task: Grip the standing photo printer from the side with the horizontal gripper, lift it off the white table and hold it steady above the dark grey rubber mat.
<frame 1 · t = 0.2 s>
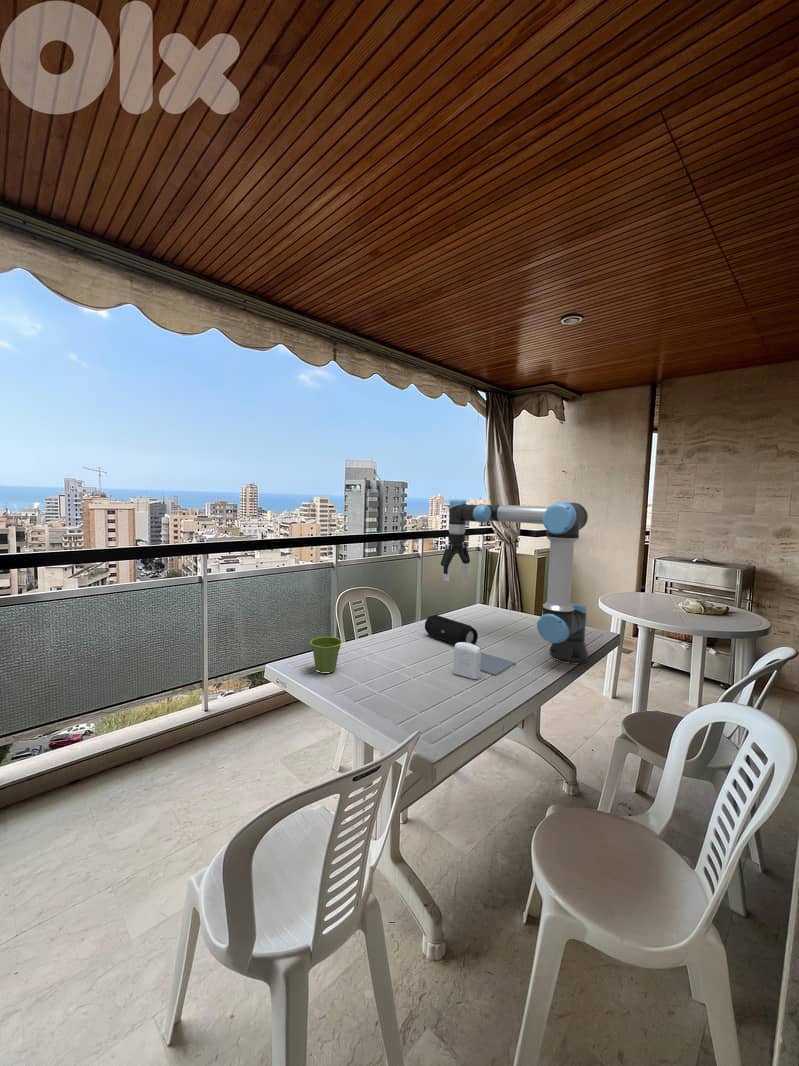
hand: (455, 578, 203), 28 cm above the table, tool pointing down, fingers open, 13 cm apart
photo printer: (466, 676, 162), on the table
portable speaker: (449, 641, 200), on the table
rubber mat: (487, 664, 173), on the table
plant pot: (326, 671, 164), on the table
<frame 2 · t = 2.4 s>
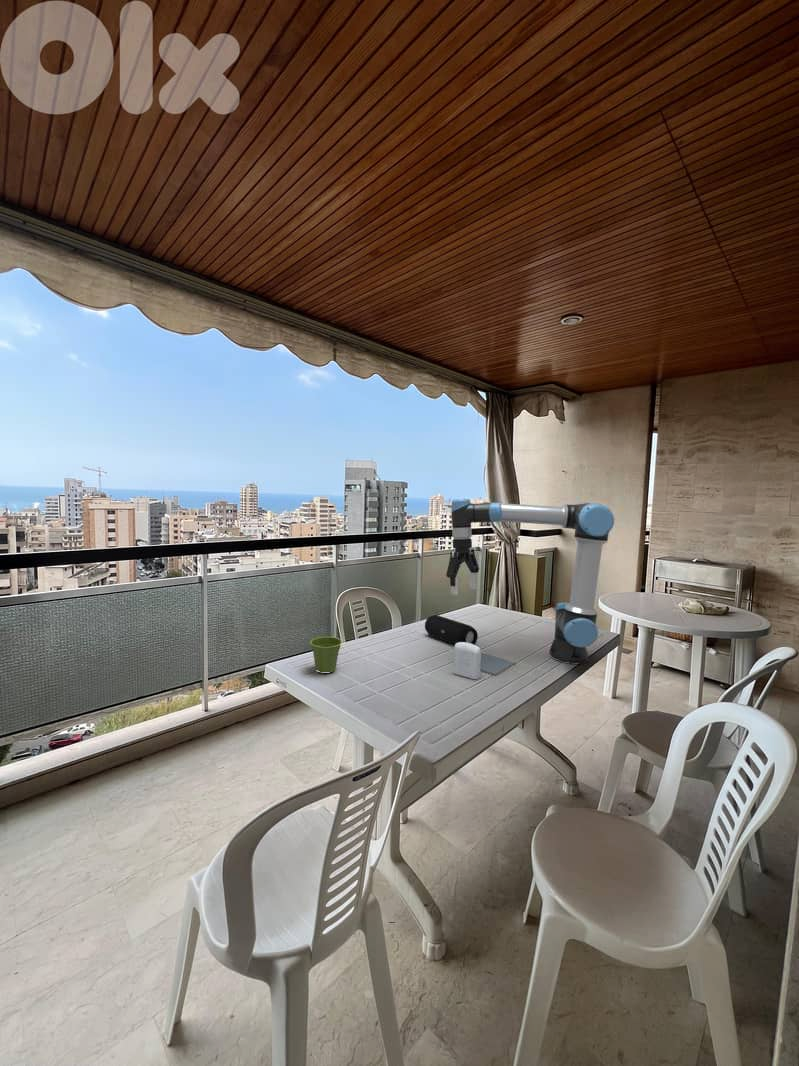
hand: (464, 591, 174), 29 cm above the table, tool pointing down, fingers open, 13 cm apart
nothing on the table moved.
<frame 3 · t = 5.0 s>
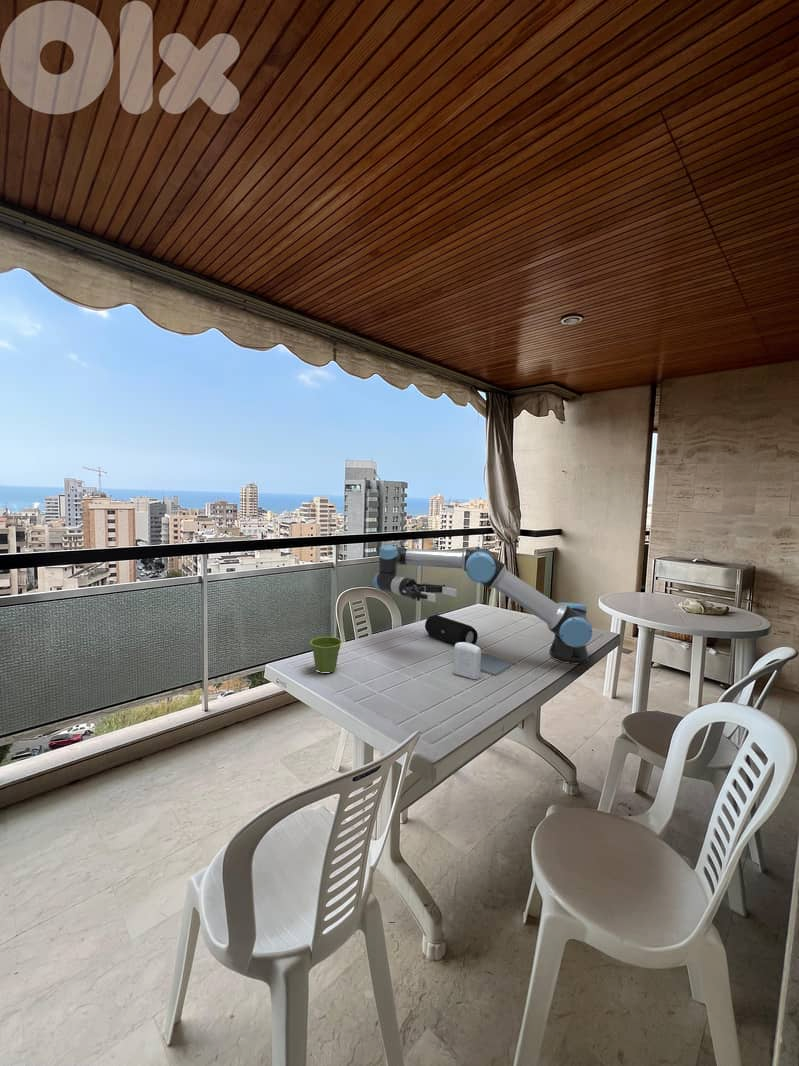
hand: (446, 595, 167), 28 cm above the table, tool horizontal, fingers open, 13 cm apart
nothing on the table moved.
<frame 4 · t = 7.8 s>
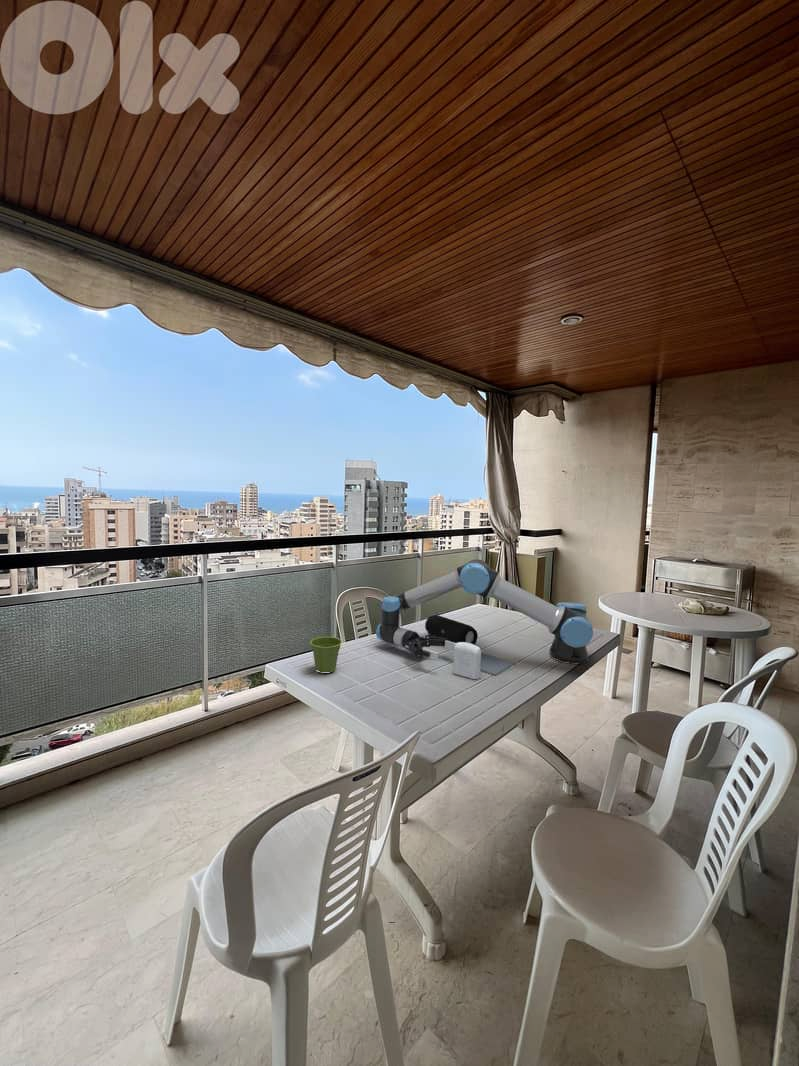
hand: (448, 652, 167), 7 cm above the table, tool horizontal, fingers open, 13 cm apart
nothing on the table moved.
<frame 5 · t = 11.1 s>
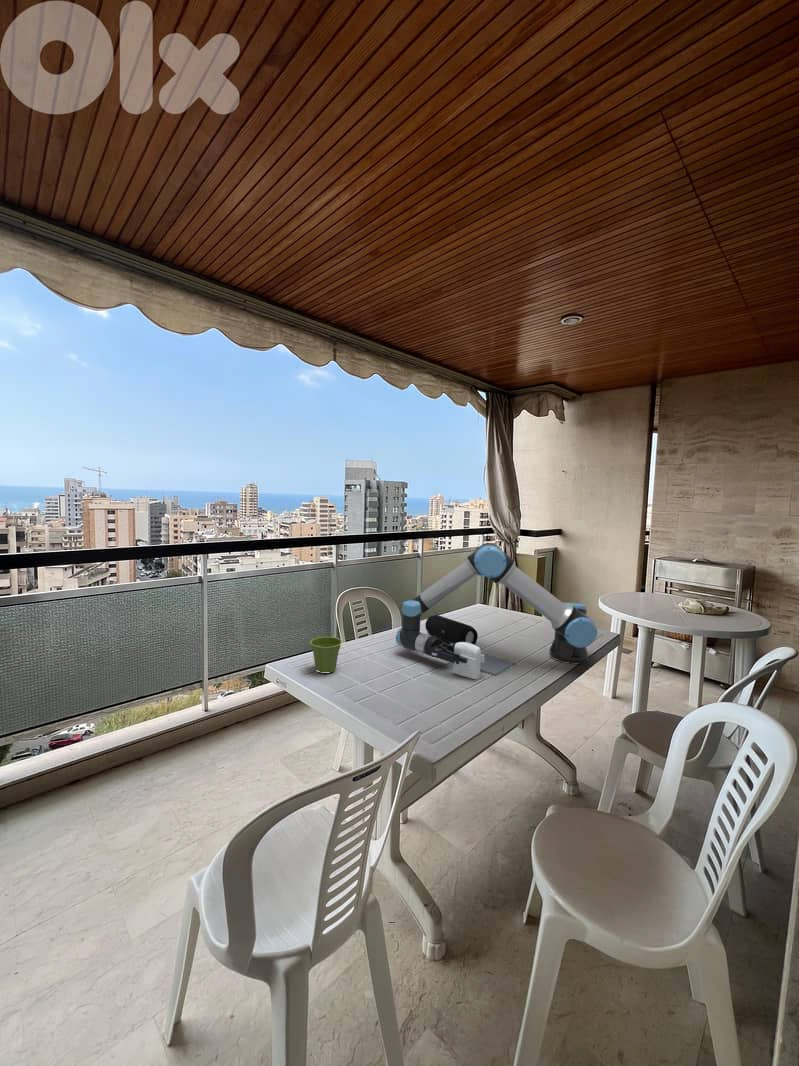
hand: (479, 661, 158), 7 cm above the table, tool horizontal, fingers closed on photo printer, 5 cm apart
photo printer: (466, 676, 162), on the table, touching gripper
everything else where it was.
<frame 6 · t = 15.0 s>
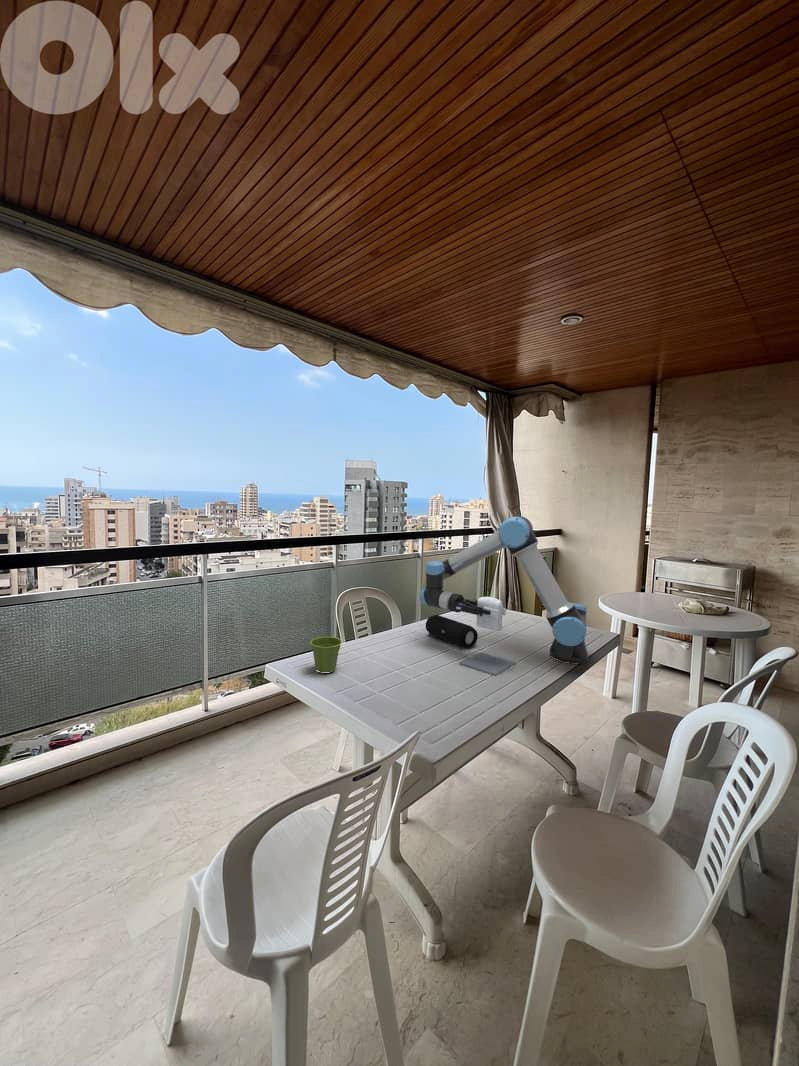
hand: (502, 613, 167), 22 cm above the table, tool horizontal, fingers closed on photo printer, 4 cm apart
photo printer: (489, 628, 172), point 15 cm above the table, touching gripper
everything else where it was.
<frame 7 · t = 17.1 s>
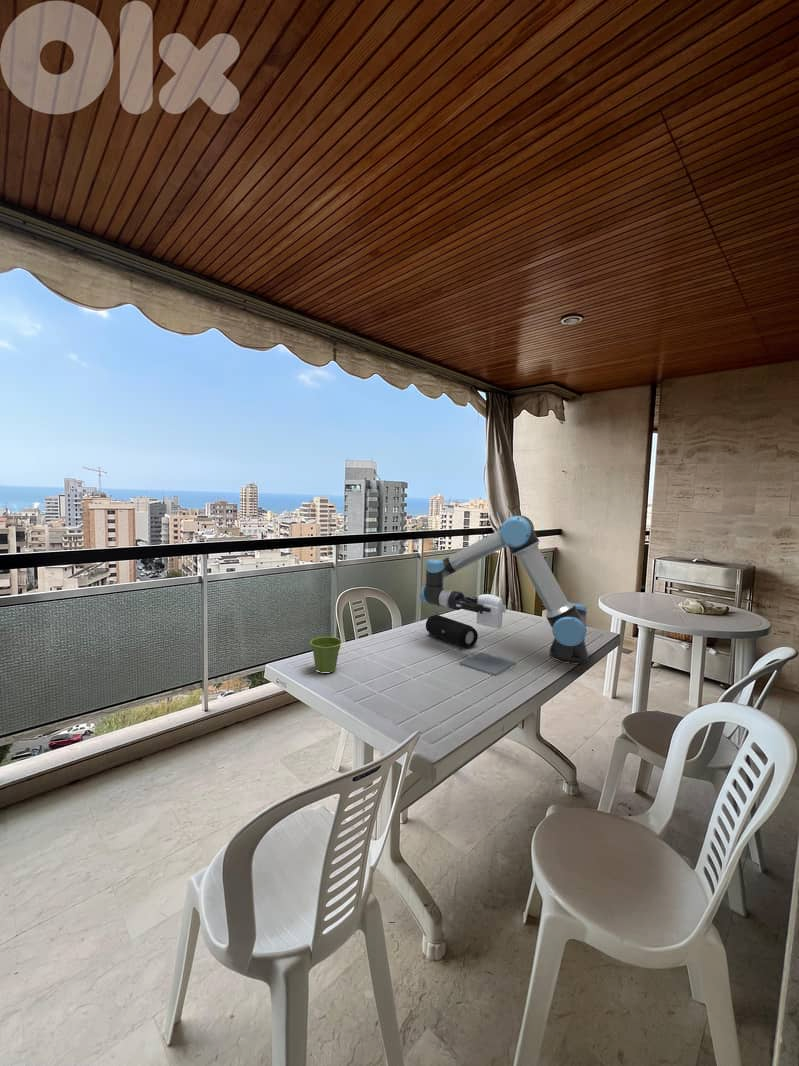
hand: (502, 610, 167), 23 cm above the table, tool horizontal, fingers closed on photo printer, 4 cm apart
photo printer: (489, 626, 172), point 16 cm above the table, touching gripper
everything else where it was.
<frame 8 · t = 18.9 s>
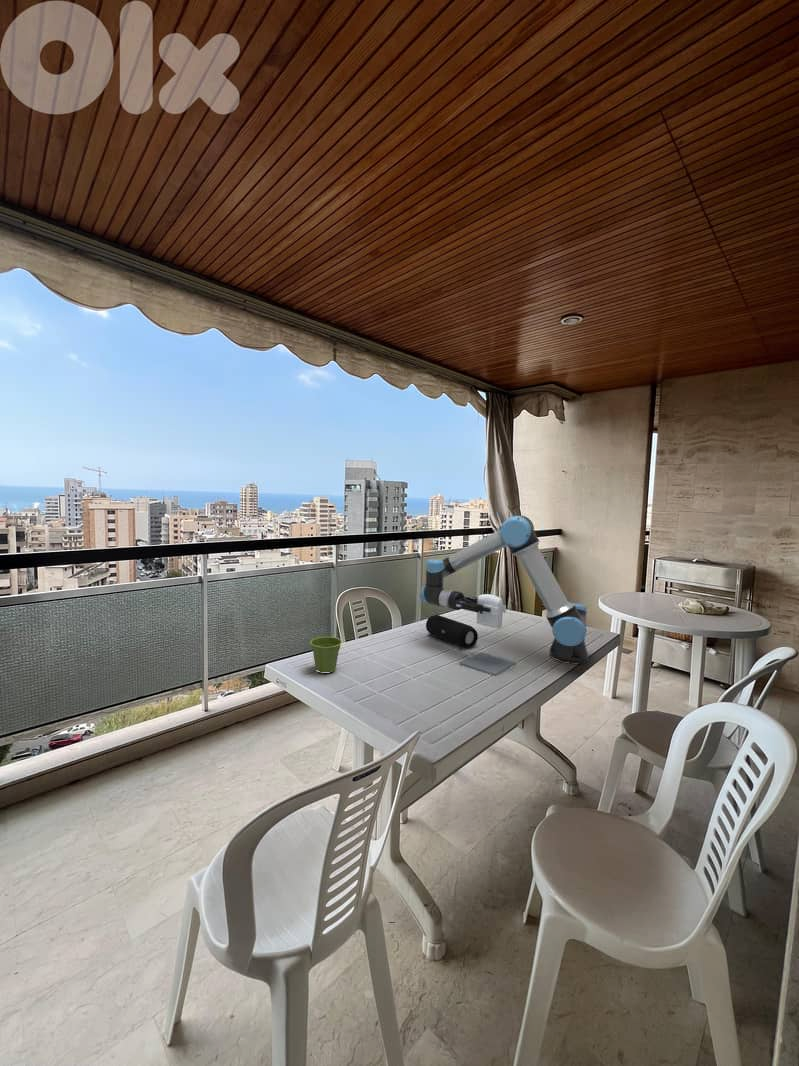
hand: (502, 610, 167), 23 cm above the table, tool horizontal, fingers closed on photo printer, 4 cm apart
photo printer: (489, 626, 172), point 16 cm above the table, touching gripper
everything else where it was.
at the end: the gripper is holding photo printer; photo printer inside the target area (0.0 cm from its centre), point 15.5 cm above the table; photo printer tilted 0° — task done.
